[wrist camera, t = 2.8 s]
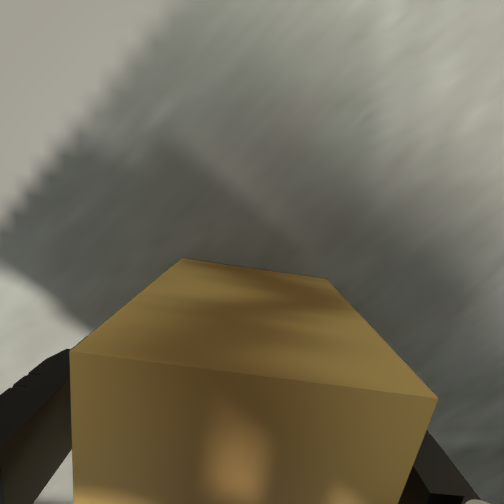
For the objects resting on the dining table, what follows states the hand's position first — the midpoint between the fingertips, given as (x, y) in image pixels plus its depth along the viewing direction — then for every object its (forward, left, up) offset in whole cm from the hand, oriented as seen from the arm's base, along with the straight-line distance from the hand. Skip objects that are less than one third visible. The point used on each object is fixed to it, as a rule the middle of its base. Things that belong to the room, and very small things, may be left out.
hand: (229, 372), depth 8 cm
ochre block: (0, 0, -2) cm, 2 cm away
